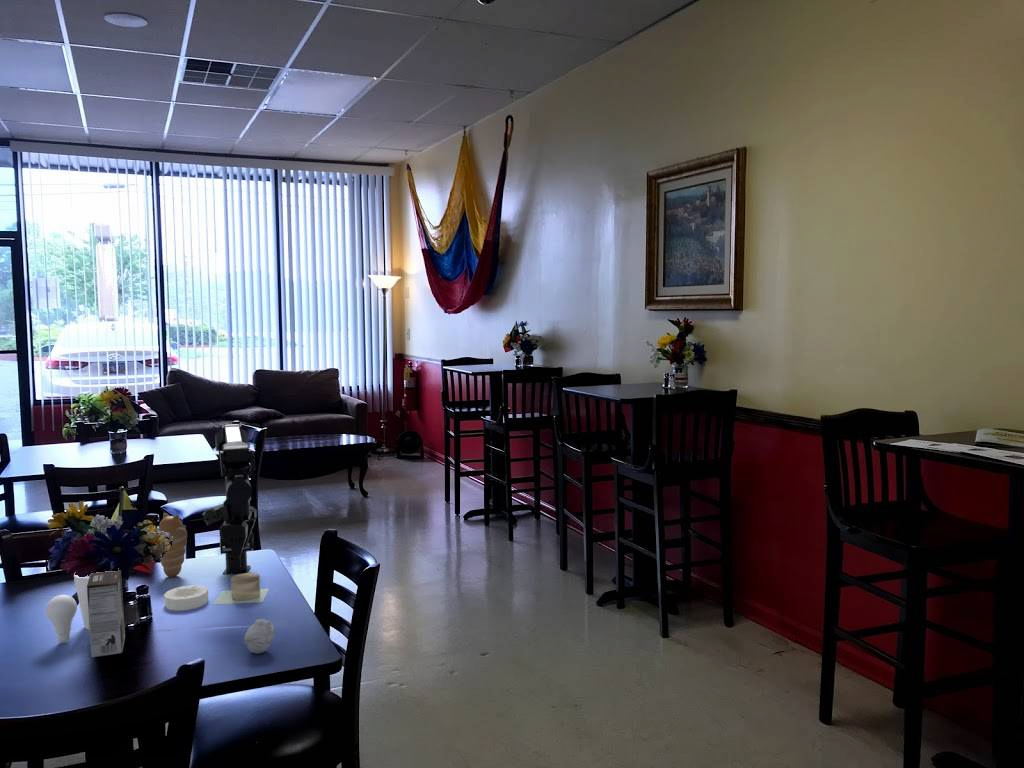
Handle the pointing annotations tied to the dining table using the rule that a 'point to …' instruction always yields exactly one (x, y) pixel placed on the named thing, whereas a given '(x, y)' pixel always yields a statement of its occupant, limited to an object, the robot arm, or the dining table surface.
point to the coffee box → (105, 613)
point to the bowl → (186, 597)
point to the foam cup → (83, 597)
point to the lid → (245, 586)
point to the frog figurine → (259, 636)
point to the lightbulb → (61, 615)
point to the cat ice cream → (173, 545)
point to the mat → (227, 599)
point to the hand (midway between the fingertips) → (240, 553)
